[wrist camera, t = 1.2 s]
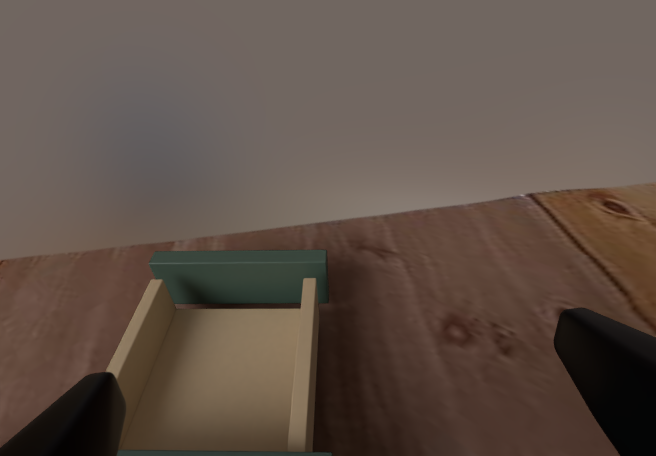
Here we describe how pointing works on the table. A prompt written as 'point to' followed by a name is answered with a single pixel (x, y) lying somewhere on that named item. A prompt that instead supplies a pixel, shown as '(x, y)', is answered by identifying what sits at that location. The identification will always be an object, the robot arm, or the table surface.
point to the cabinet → (216, 453)
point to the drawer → (223, 353)
